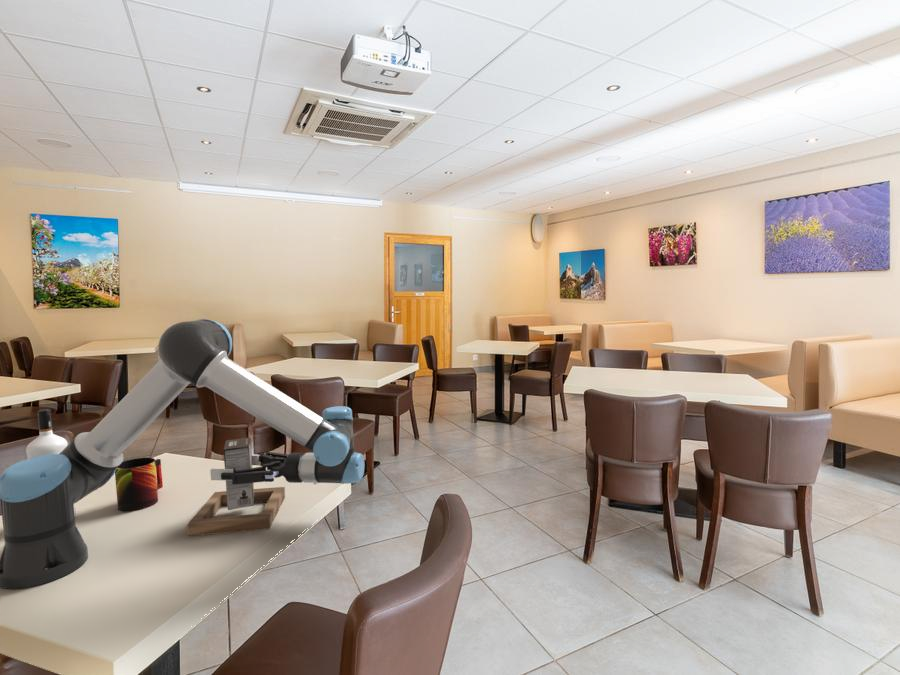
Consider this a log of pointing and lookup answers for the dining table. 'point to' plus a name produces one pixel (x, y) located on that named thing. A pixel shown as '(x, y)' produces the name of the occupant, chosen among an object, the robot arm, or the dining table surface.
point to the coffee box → (239, 458)
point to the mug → (138, 483)
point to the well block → (210, 525)
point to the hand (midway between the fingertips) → (224, 466)
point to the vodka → (46, 439)
